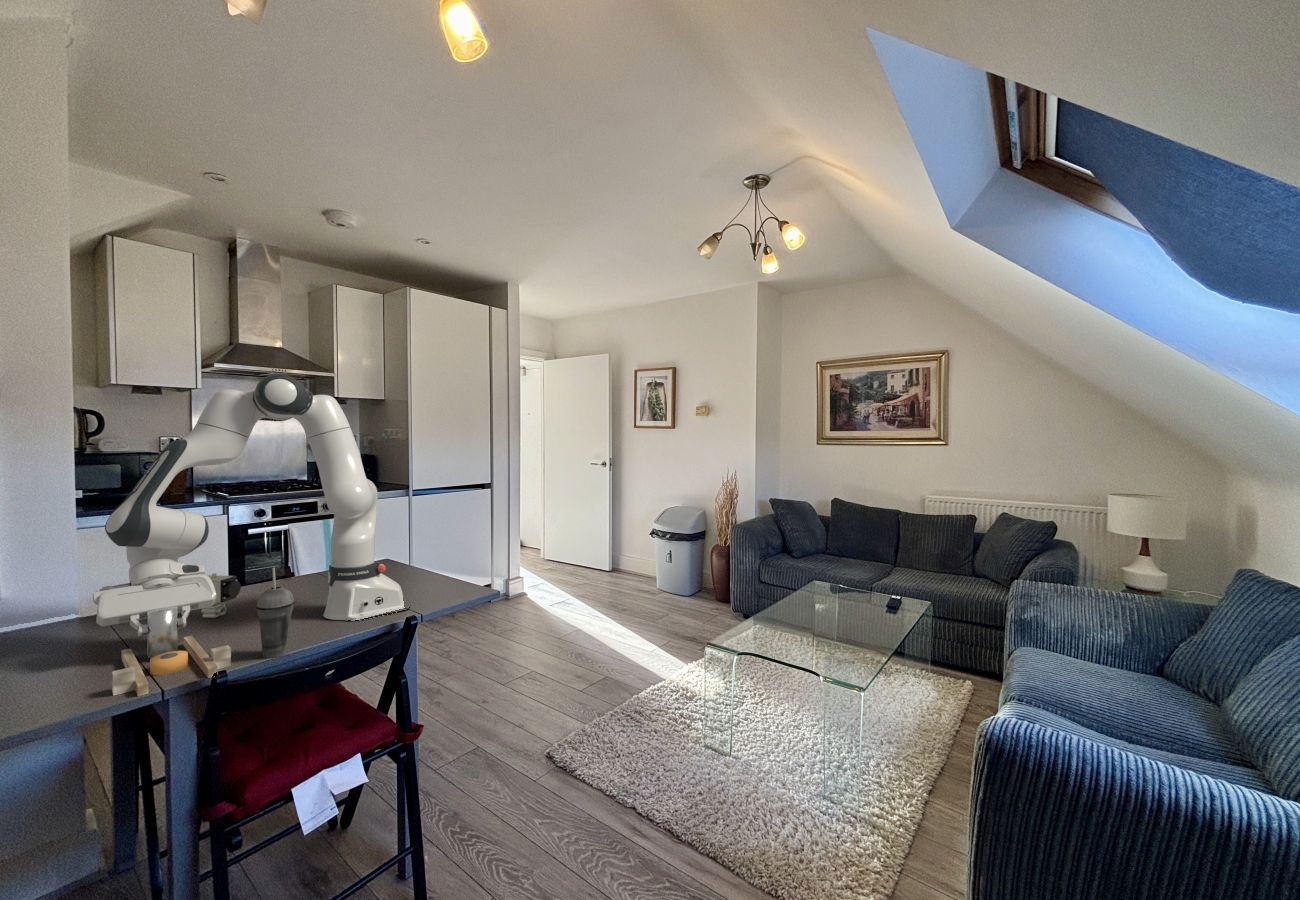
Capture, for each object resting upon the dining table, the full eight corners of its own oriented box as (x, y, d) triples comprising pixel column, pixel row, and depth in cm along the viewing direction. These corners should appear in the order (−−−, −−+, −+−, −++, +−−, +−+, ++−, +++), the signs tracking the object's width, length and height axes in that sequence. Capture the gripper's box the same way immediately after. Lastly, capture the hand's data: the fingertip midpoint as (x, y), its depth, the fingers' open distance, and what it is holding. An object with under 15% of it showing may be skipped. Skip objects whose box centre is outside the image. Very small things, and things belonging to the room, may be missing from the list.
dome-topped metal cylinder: (179, 647, 122) (179, 604, 122) (175, 654, 118) (175, 610, 118) (149, 651, 119) (149, 608, 119) (145, 659, 115) (145, 614, 115)
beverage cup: (264, 663, 116) (264, 573, 116) (249, 655, 120) (250, 569, 120) (300, 652, 122) (300, 567, 122) (285, 645, 126) (286, 563, 126)
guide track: (207, 640, 128) (207, 624, 128) (235, 670, 112) (235, 652, 112) (102, 663, 115) (102, 645, 115) (115, 702, 98) (115, 681, 98)
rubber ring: (189, 661, 116) (189, 647, 116) (185, 671, 112) (185, 657, 112) (152, 668, 113) (152, 653, 113) (147, 678, 108) (147, 663, 108)
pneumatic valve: (227, 619, 143) (227, 576, 143) (185, 618, 144) (186, 575, 144) (243, 613, 149) (243, 571, 149) (203, 612, 149) (203, 570, 149)
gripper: (92, 580, 115) (97, 635, 108) (212, 564, 130) (221, 611, 124) (91, 596, 118) (95, 651, 111) (208, 579, 133) (217, 625, 127)
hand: (163, 630), depth 118 cm, fingers closed on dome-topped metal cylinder, 5 cm apart
